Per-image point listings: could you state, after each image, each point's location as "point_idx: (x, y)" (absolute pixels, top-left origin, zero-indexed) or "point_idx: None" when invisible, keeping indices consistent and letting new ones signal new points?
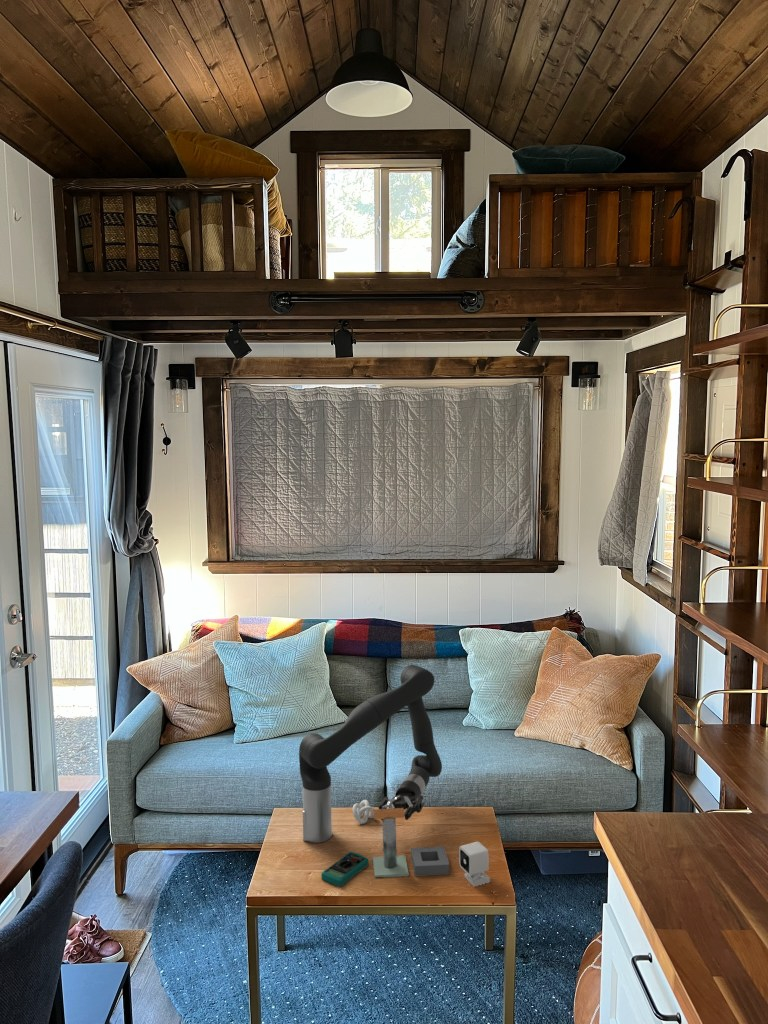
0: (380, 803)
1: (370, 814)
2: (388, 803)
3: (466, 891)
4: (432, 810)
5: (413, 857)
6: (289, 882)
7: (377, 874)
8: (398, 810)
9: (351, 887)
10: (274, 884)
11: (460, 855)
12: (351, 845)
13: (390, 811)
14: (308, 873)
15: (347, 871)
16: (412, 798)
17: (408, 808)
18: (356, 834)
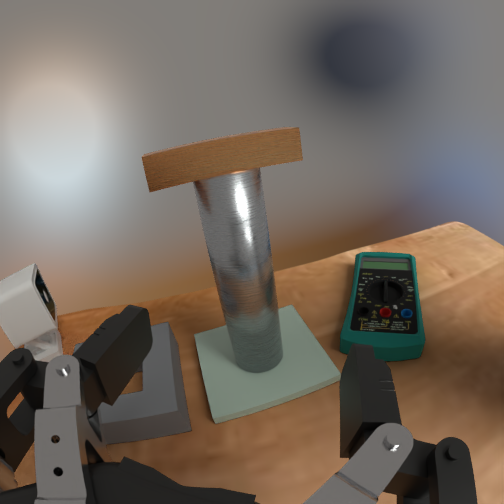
0: (468, 489)
1: None
2: (358, 486)
3: (78, 321)
4: None
5: (169, 357)
6: (452, 247)
7: (285, 309)
8: (169, 148)
9: (332, 272)
10: (465, 238)
11: (43, 300)
12: (466, 419)
13: (209, 139)
14: (451, 272)
15: (362, 274)
16: (10, 499)
17: (95, 348)
18: (496, 493)
